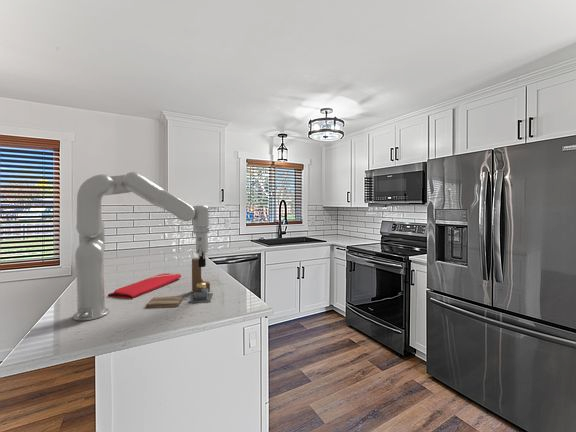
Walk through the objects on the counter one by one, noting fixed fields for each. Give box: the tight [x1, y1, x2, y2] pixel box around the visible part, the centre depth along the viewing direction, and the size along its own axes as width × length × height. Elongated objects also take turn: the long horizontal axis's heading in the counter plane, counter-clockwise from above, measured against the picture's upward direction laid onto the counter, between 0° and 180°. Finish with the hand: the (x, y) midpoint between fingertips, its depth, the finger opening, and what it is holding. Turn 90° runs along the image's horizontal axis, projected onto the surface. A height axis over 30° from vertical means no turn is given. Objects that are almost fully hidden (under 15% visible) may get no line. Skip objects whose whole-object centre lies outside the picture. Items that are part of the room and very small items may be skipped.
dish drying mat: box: [107, 273, 182, 300], centre depth 167 cm, size 16×41×4 cm, turn 165°
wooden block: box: [191, 257, 211, 294], centre depth 158 cm, size 9×4×18 cm, turn 113°
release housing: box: [188, 288, 214, 304], centre depth 146 cm, size 12×10×4 cm
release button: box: [197, 282, 206, 289], centre depth 145 cm, size 4×4×2 cm
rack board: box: [145, 295, 184, 309], centre depth 139 cm, size 11×14×2 cm
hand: (202, 266), depth 145 cm, fingers closed
